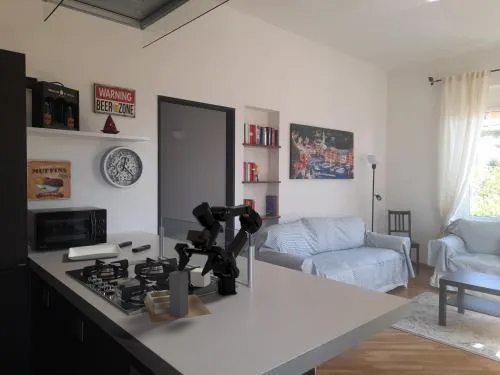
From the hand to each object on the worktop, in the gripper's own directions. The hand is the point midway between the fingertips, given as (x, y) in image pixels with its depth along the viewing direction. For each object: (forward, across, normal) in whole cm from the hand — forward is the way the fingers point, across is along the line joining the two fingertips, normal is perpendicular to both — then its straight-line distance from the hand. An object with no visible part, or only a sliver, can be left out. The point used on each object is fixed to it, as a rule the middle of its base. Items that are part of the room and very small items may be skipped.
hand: (190, 274), depth 118 cm
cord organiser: (+9, -5, +8) cm, 13 cm away
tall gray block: (+12, 0, +4) cm, 13 cm away
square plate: (-26, -104, +44) cm, 116 cm away
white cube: (-10, -15, +28) cm, 34 cm away
